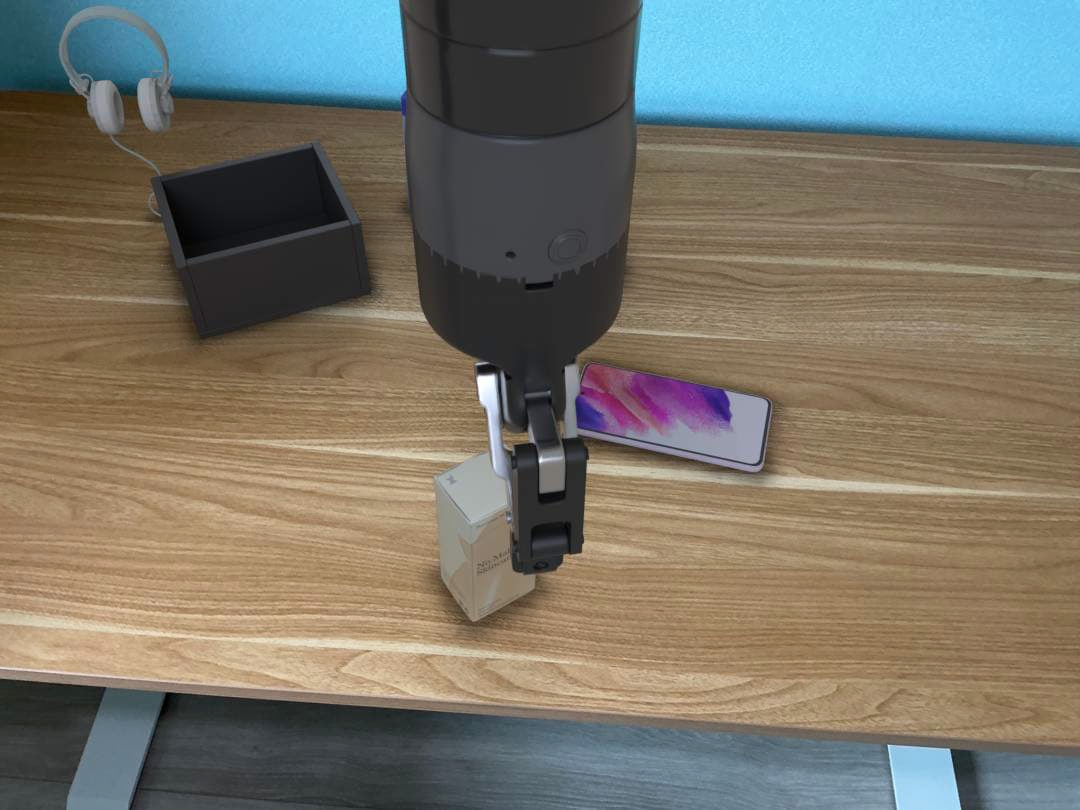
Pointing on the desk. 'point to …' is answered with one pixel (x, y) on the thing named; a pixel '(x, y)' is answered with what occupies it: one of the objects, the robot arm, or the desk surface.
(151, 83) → the headphones
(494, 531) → the box
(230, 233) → the basket
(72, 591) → the desk surface
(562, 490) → the robot arm
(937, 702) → the desk surface
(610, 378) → the smartphone
